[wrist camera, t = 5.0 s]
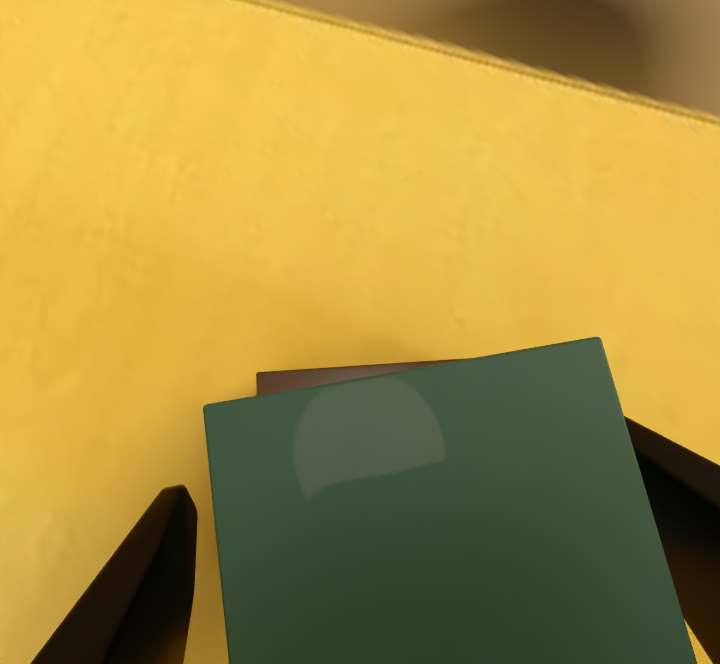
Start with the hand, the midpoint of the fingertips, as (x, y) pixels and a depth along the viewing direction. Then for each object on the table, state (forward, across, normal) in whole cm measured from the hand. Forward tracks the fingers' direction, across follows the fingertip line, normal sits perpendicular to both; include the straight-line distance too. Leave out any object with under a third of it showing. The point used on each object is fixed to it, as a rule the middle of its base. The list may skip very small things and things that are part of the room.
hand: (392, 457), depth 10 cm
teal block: (+2, 0, +4) cm, 5 cm away
